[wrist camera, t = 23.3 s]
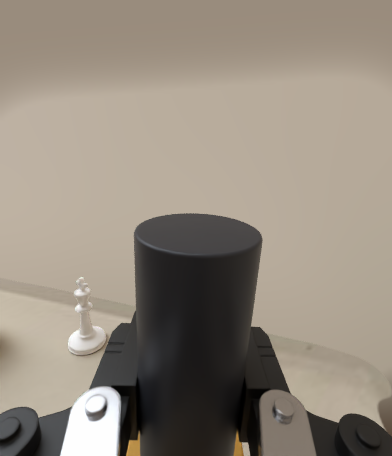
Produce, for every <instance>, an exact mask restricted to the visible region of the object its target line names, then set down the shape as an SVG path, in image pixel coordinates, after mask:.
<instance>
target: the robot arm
mask: <svg viewBox="0 0 392 456" xmlns="http://www.w3.org/2000/svg"><path fill="white" fill-rule="evenodd" d="M237 431H238V438H239V442H248V444H249V450H250V456H392V437H391V436H390V435H389V434H388V433H387V432H386V431H385V430H384V429H383V428H382V427H381V426H380V425H378V424H377V423H376V422H374V421H373V420H371V419H369V418H367V417H365V416H362V415H359V414H347V415H344V416H343V417H342V418H341V419H340V422H339V423H337V422H334V421H331V420H328V419H325V418H322V417H319V416H316V415H314V414H312V413H310V412H308V411H306V410H305V408H304V406H303V405H302V403H301V402H300V401H299V400H298V399H297V398H296V397H294V396H293V395H292V394H291V393H290V391H289V388H288V386H287V383H286V381H285V378H284V375H283V373H282V370H281V368H280V365H279V363H278V360H277V357H276V355H275V352H274V350H273V349H272V345H271V342H270V339H269V337H268V335H267V334H266V333H265V332H264V331H263V330H262V329H261V328H260V327H251V330H250V337H249V345H248V352H247V360H246V367H245V374H244V382H243V389H242V397H241V404H240V412H239V419H238V427H237ZM138 435H139V396H138V360H137V323H136V311H135V313H134V316H133V319H132V322H131V323H121V324H120V325H119V326H118V327H117V328H116V329H115V330H114V331H113V332H112V334H111V337H110V339H109V342H108V344H107V347H106V349H105V353H104V354H103V357H102V359H101V361H100V364H99V366H98V369H97V371H96V374H95V376H94V379H93V381H92V384H91V386H90V388H89V390H88V391H86V392H84V393H83V394H82V395H81V396H79V398H78V399H77V400H76V401H75V403H74V404H73V406H72V407H70V408H68V409H66V410H63V411H61V412H57V413H54V414H50V415H47V416H43V417H40V418H38V415H37V413H36V412H35V411H34V410H33V409H31V408H29V407H17V408H13V409H10V410H8V411H5V412H3V413H2V414H0V456H126V454H127V449H128V444H129V440H137V441H138Z"/></svg>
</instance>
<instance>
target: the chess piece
mask: <svg viewBox="0 0 392 456" xmlns="http://www.w3.org/2000/svg"><path fill="white" fill-rule="evenodd" d="M76 284H77V285H79V289H77V290H76V291H75V292H74V296H75V298H76V299H77V301H78V303H79V304H78V305H77V306H76V308H75V311H76V312H78V313H80V329H79V330H77V331H75V332H74V333H73V334H72V335H71V336H70V338H69V340H68V349H69V351H70V352H71V353H73V354H76V355H87V354H91V353H93V352H96V351H97V350H99V349H100V348H101V347H102V346H103V345H104V344H105V342H106V335H105V331H104V330H103V329H102V328H100V327H97V326H92V324H91V320H90V316H89V312H88V311H90V310H91V309H92V307H93V306H92V304H91V303H90V302H88V300H89V296H90V292H91V290H90V289H89V288H86V287H87V283H85V282H84V278H83V277H80V278H79V279H78V280H77V281H76Z"/></svg>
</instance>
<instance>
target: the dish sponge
mask: <svg viewBox="0 0 392 456" xmlns="http://www.w3.org/2000/svg"><path fill="white" fill-rule="evenodd" d="M261 248H262V236H261V234H260V232H259V231H258V230H257V229H255V228H254V227H252V226H250V225H248V224H246V223H244V222H241V221H238V220H235V219H231V218H227V217H222V216H216V215H208V214H172V215H165V216H160V217H155V218H152V219H149V220H146V221H144V222H143V223H141V224H139V225H138V226H137V228H136V230H135V232H134V251H135V284H136V285H135V287H136V323H137V360H138V396H139V435H138V441H137V440H129V444H128V449H127V454H126V456H244V454H243V448H242V443H241V442H239V438H238V431H237V427H238V419H239V412H240V404H241V397H242V389H243V382H244V374H245V367H246V360H247V352H248V345H249V337H250V330H251V321H252V314H253V307H254V300H255V292H256V285H257V277H258V270H259V262H260V254H261Z"/></svg>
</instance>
